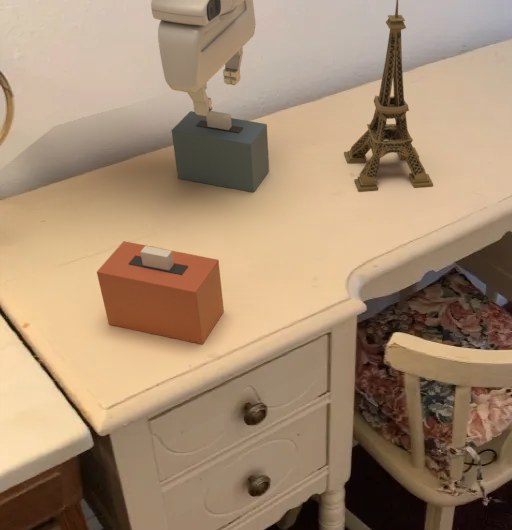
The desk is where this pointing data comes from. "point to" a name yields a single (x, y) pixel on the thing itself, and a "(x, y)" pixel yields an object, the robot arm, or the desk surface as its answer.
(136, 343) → the desk surface
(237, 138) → the slate tissue box
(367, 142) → the eiffel tower
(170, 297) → the terracotta tissue box
